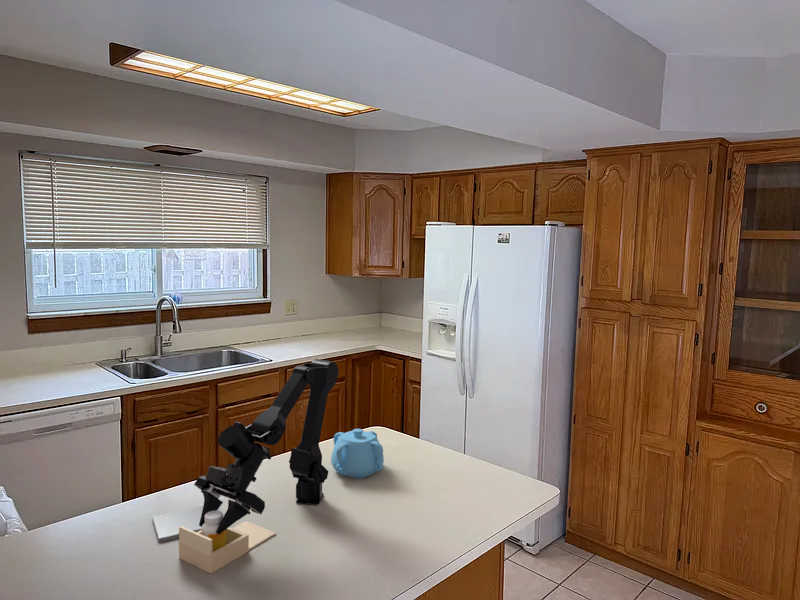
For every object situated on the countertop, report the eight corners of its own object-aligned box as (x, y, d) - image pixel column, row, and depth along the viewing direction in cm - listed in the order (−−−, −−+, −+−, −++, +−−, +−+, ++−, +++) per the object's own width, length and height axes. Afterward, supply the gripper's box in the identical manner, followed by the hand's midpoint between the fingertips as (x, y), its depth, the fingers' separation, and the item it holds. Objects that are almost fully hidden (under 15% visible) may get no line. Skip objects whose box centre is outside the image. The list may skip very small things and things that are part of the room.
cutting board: (216, 506, 153) (216, 503, 153) (227, 526, 143) (227, 522, 143) (152, 520, 145) (152, 516, 145) (158, 542, 135) (158, 538, 135)
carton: (245, 522, 145) (245, 494, 144) (276, 534, 139) (276, 505, 139) (179, 558, 128) (178, 526, 128) (211, 573, 123) (210, 540, 122)
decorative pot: (329, 482, 170) (329, 439, 169) (332, 461, 186) (333, 421, 185) (383, 482, 171) (384, 439, 170) (382, 461, 187) (383, 421, 185)
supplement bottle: (231, 551, 132) (231, 511, 131) (216, 563, 127) (216, 521, 126) (212, 546, 133) (211, 507, 132) (196, 558, 128) (196, 517, 127)
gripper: (200, 443, 136) (160, 504, 128) (255, 460, 126) (216, 528, 118) (226, 464, 143) (190, 523, 135) (280, 481, 134) (245, 547, 125)
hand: (209, 529), depth 128 cm, fingers closed on supplement bottle, 5 cm apart
